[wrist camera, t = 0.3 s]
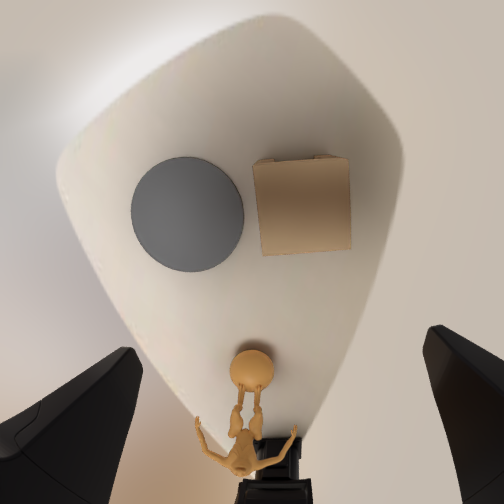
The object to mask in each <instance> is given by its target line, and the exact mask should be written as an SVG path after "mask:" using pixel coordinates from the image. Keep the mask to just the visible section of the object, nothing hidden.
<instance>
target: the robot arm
mask: <svg viewBox="0 0 504 504" xmlns="http://www.w3.org/2000/svg"><path fill="white" fill-rule="evenodd" d="M423 357H424V360H425V364H426V367H427V371H428V375H429V379H430V383H431V387H432V391H433V395H434V398H435V401H436V404H437V407H438V410H439V413H440V416H441V419H442V422H443V425H444V429H445V432H446V435H447V438H448V442H449V446H450V449H451V453H452V457H453V461H454V465H455V469H456V473H457V478H458V482H459V487H460V492H461V497H462V502H463V504H504V361H503V360H502V359H500V358H498V357H497V356H495V355H493V354H492V353H490V352H488V351H486V350H485V349H483V348H481V347H480V346H478V345H476V344H474V343H473V342H471V341H469V340H467V339H466V338H464V337H462V336H460V335H459V334H457V333H455V332H454V331H452V330H450V329H448V328H446V327H445V326H443V325H436V326H431V327H430V328H429V329H428V331H427V335H426V339H425V342H424V345H423ZM142 374H143V367H142V364H141V362H140V360H139V358H138V356H137V354H136V351H135V350H134V349H133V348H131V347H120V348H119V349H117V350H115V351H114V352H112V353H111V354H110V355H108V356H106V357H105V358H103V359H102V360H101V361H99V362H98V363H96V364H94V365H93V366H91V367H90V368H88V369H87V370H85V371H84V372H82V373H81V374H79V375H78V376H76V377H75V378H73V379H72V380H70V381H69V382H68V383H66V384H64V385H63V386H61V387H60V388H58V389H57V390H55V391H54V392H52V393H51V394H49V395H47V396H46V397H44V398H43V399H42V400H40V401H38V402H37V403H35V404H34V405H32V406H31V407H29V408H27V409H26V410H24V411H23V412H21V413H19V414H17V415H16V416H14V417H12V418H10V419H8V420H6V421H4V422H2V423H1V424H0V504H108V503H109V499H110V496H111V491H112V487H113V484H114V480H115V476H116V472H117V469H118V465H119V462H120V458H121V455H122V451H123V448H124V444H125V441H126V438H127V434H128V431H129V428H130V425H131V421H132V418H133V415H134V411H135V407H136V402H137V398H138V392H139V388H140V383H141V379H142ZM289 439H290V438H288V439H261V440H255V439H254V440H253V446H254V451H255V453H256V457H257V460H265V459H269V458H272V457H277V456H279V454H280V452H281V450H282V449H283V447H284V445H285V444H286V442H287V441H288V440H289ZM301 445H302V439H301V438H295V439H294V440H293V443H292V445H291V446H290V447H289V449H288V450H287V452H286V454H285V457H284V458H283V460H281V461H280V462H278V463H275V464H273V465H269V466H266V467H264V468H262V469H260V470H256V474H255V480H251V479H243V482H240V483H239V487H238V494H237V497H236V501H235V503H234V504H313V497H312V486H311V479H310V478H308V479H301V480H299V459H301Z"/></svg>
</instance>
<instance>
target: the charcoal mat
mask: <svg viewBox="0 0 504 504" xmlns="http://www.w3.org/2000/svg"><path fill="white" fill-rule="evenodd" d="M131 219H132V225H133V228H134V232H135V234H136V236H137V238H138V240H139V242H140V244H141V245H142V247H143V248H144V249H145V251H146V252H147V253H148V254H149V255H150V256H151V257H152V258H154V259H155V260H156V261H158V262H159V263H160V264H162V265H164V266H166V267H168V268H171V269H174V270H177V271H182V272H199V271H204V270H208V269H210V268H213V267H215V266H216V265H218V264H220V263H221V262H223V261H224V260H225V259H226V258H227V257H228V256H229V255H230V254H231V253H232V251H233V250H234V249H235V247H236V245H237V243H238V241H239V239H240V236H241V233H242V229H243V221H244V213H243V206H242V201H241V198H240V195H239V193H238V191H237V189H236V187H235V186H234V184H233V183H232V181H231V180H230V179H229V178H228V176H227V175H226V174H225V173H224V172H222V171H221V170H220V169H219V168H217V167H216V166H214V165H213V164H210V163H208V162H206V161H203V160H200V159H196V158H189V157H181V158H174V159H170V160H166V161H164V162H162V163H159V164H158V165H156V166H154V167H153V168H152V169H150V170H149V171H148V172H147V173H146V174H145V175H144V176H143V177H142V179H141V180H140V182H139V183H138V185H137V187H136V189H135V192H134V195H133V199H132V204H131Z"/></svg>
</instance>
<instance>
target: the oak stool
mask: <svg viewBox="0 0 504 504" xmlns="http://www.w3.org/2000/svg"><path fill="white" fill-rule="evenodd" d="M252 167H253V175H254V184H255V192H256V201H257V210H258V218H259V227H260V236H261V245H262V254H263V256H273V255H286V254H299V253H311V252H324V251H336V250H348V249H351V207H350V180H349V163H348V159H344V158H340V157H336V156H332V155H317V156H314V159H309V160H294V161H281V162H274V159H264V160H258V161H257V162H256V163H255V164H254V165H253V166H252Z"/></svg>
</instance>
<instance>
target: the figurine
mask: <svg viewBox="0 0 504 504" xmlns="http://www.w3.org/2000/svg"><path fill="white" fill-rule="evenodd" d="M273 376H274V366H273V363H272V361H271V360H270V358H269V357H268V356H267V355H266V354H264V353H263V352H260V351H257V350H247V351H243V352H241V353H240V354H238V355H237V356H236V357H235V358H234V359H233V361H232V363H231V365H230V377H231V379H232V381H233V383H234V384H235V385H236V386H237V387H238V389H239V394H238V404H237V405H235V406H234V409H233V410H232V414H231V417H230V429H229V432H228V436H229V437H230V438H234V437H235V436H236V442H235V444H234V446H233V448H232V449H231V451H230V452H229V455H228V457H223V456H221V455H219V454H217V453H215V452H212V451H210V450H208V448H207V444H206V442H205V438H204V436H203V433H202V432H201V430H200V428H199V426H200V424H201V421H200V423H199V416H198V419H197V416H196V419H195V428H196V431H197V435H198V438H199V440H200V443H201V446H202V451H203V452H204V454H206V455H207V456H208V457H210V458H211V459H213V460H215V461H217V462H218V463H220V464H221V465H222V466H224V467H226V468H228V469H230V470H231V472H232V473H233V474H234V475H236V476H239V477H243V476H247V475H249V474H250V473H251V472H253V471H256V470H260V469H262V468H264V467H266V466H269V465H273V464H275V463H278V462H280V461H281V460H283V458H284V457H285V454H286V452H287V450H288V449H289V447H290V446H291V445H292V443H293V440H294V439H295V437H296V433H297V425H296V427H295V425H294V428H293V432H292V430H291V434H292V436H291V438H290V439H289V440H288V441H287V442H286V444H285V445H284V447H283V449H282V450H281V452H280V454H279V456H277V457H272V458H269V459H265V460H257V457H256V453H255V451H254V446H253V438H255V440H261V438H262V432H261V429H262V424H263V416H262V408H261V407H260V406H259V403H260V395H261V391H262V390H263V389H265V388H266V387H267V386H268V385H269V384H270V383H271V381H272V379H273ZM245 391H246V392H254V393H255V397H254V408H253V410H254V412H255V415H254V417H253V418H252V419H251V420H250V422H249V430H248V429H243V430H242V427H243V419H242V417H241V416H240V411H241V410H242V408H243V407H242V405H243V400H244V394H245Z"/></svg>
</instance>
